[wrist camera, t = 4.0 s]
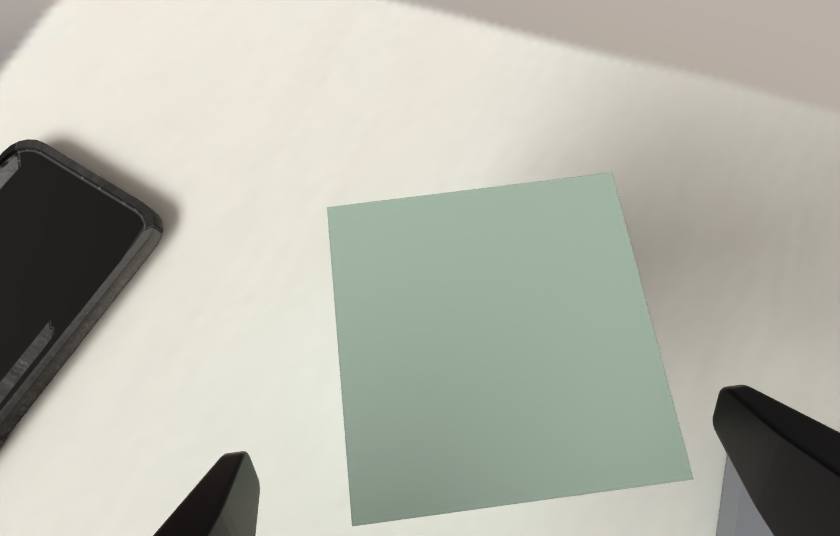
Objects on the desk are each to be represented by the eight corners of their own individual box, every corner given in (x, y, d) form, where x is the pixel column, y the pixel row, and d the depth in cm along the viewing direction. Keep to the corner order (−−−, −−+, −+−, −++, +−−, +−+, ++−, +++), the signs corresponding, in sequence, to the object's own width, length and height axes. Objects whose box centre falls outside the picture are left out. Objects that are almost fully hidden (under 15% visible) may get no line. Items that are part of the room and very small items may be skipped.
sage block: (521, 438, 18) (693, 479, 6) (400, 454, 18) (352, 526, 6) (500, 319, 19) (612, 172, 8) (387, 333, 19) (327, 207, 7)
